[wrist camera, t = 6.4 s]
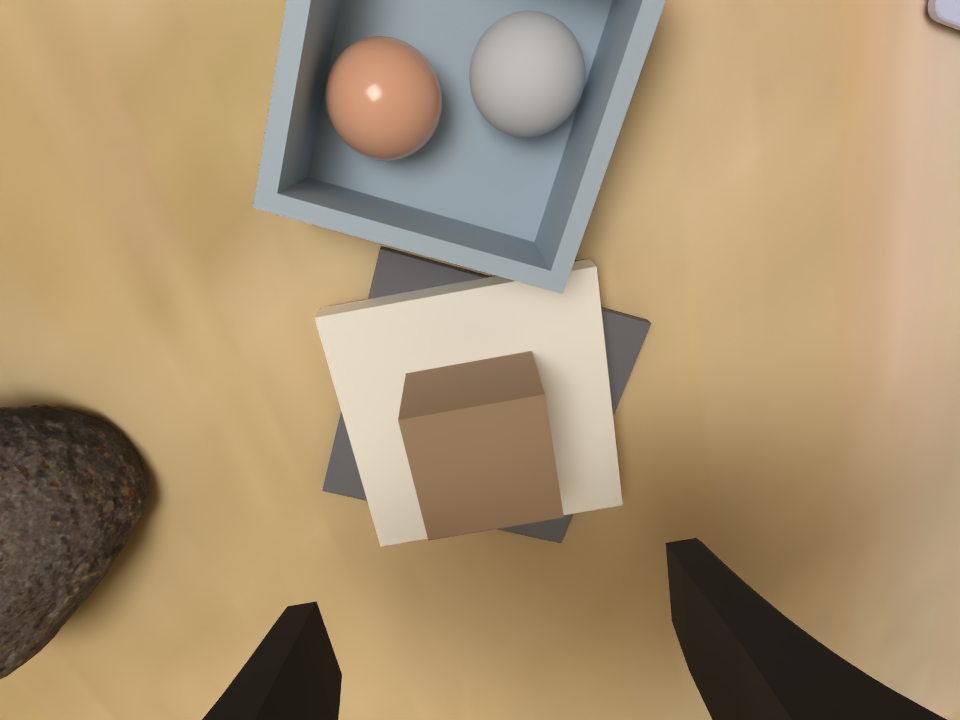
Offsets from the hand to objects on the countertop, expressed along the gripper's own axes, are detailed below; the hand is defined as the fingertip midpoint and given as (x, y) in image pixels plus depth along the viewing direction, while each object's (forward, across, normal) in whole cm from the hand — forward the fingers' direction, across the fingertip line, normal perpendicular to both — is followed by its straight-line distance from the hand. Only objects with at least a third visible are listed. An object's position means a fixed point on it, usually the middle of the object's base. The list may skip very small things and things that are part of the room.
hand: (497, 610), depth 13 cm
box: (+10, -1, -10) cm, 14 cm away
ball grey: (+10, -3, -10) cm, 14 cm away
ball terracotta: (+10, +1, -10) cm, 14 cm away
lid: (+10, 0, 0) cm, 10 cm away
